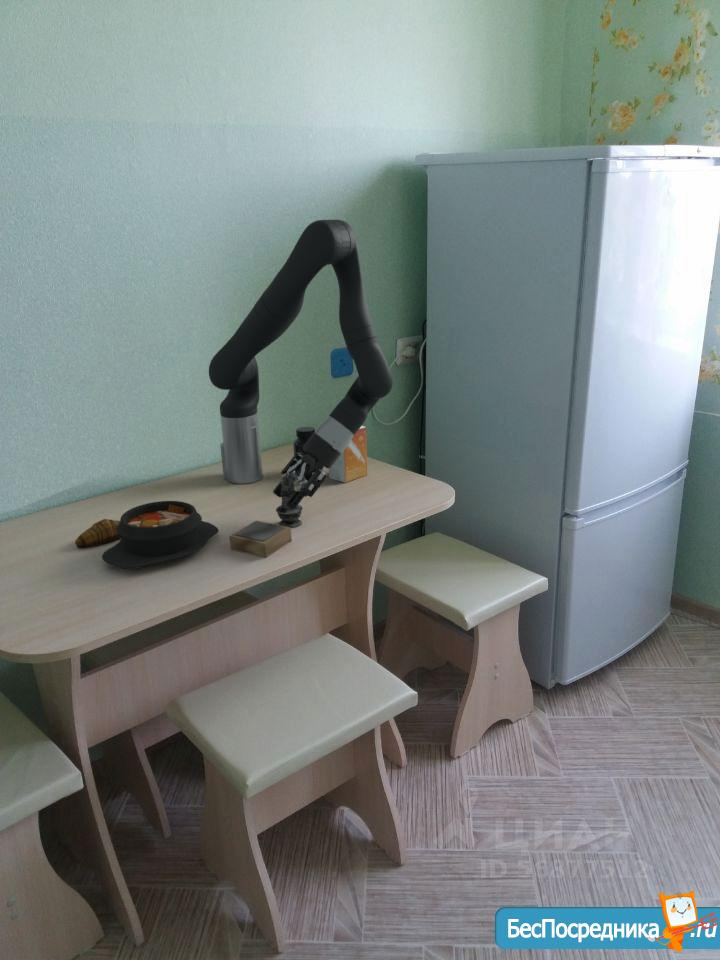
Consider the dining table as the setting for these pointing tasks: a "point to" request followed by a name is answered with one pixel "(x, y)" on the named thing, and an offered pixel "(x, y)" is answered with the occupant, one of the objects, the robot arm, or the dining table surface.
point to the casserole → (158, 534)
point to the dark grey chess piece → (284, 511)
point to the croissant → (99, 534)
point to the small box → (351, 459)
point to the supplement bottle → (302, 439)
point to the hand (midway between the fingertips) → (282, 501)
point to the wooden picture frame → (260, 538)
